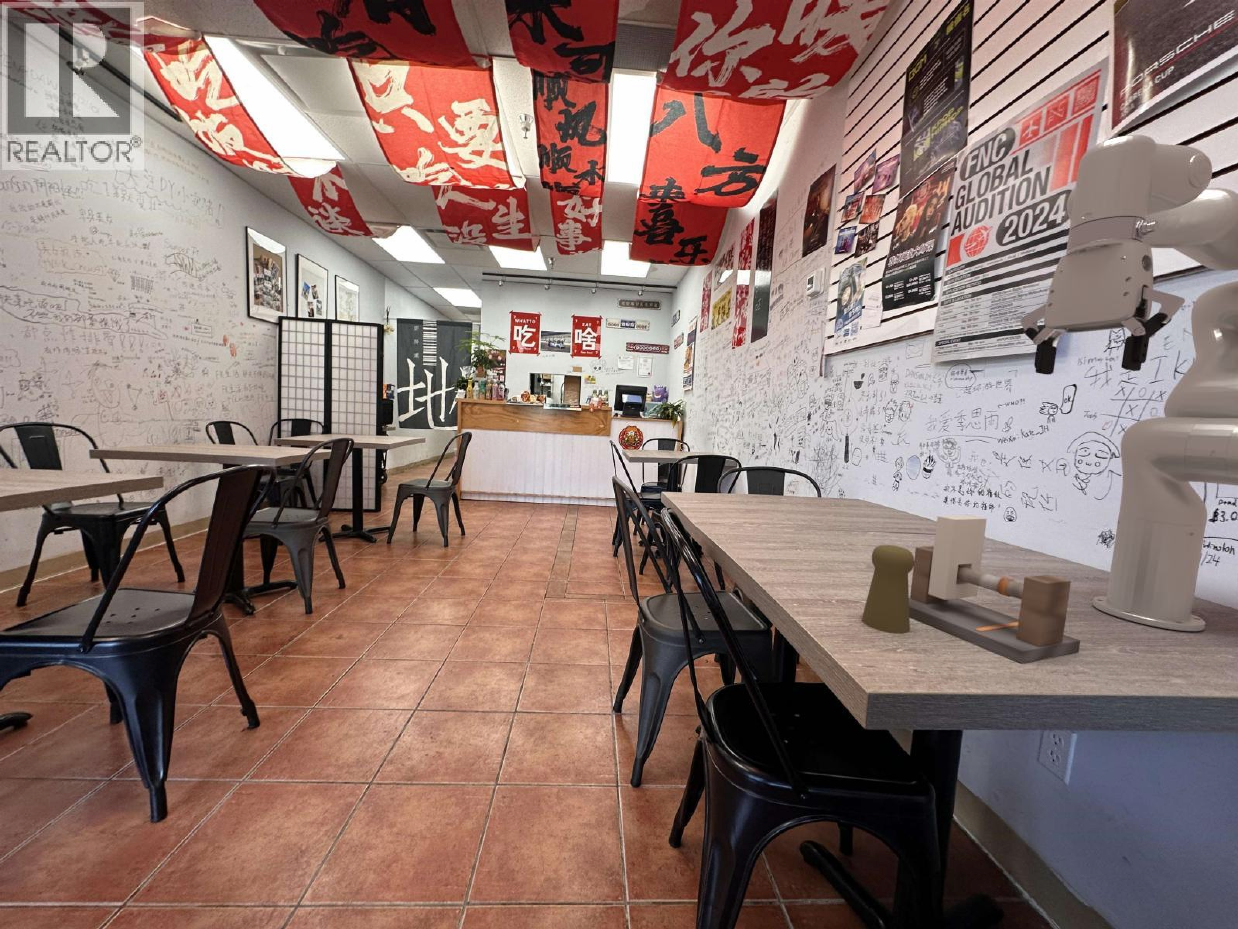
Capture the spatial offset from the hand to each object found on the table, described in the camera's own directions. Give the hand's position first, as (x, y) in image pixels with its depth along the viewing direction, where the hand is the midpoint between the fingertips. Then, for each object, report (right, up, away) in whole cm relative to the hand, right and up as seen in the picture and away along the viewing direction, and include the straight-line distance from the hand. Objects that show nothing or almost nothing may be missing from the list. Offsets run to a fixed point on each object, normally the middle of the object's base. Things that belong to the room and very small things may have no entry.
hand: (1084, 371), depth 71 cm
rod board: (-13, -36, +2) cm, 38 cm away
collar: (-14, -32, +6) cm, 35 cm away
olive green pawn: (-26, -35, +2) cm, 44 cm away
